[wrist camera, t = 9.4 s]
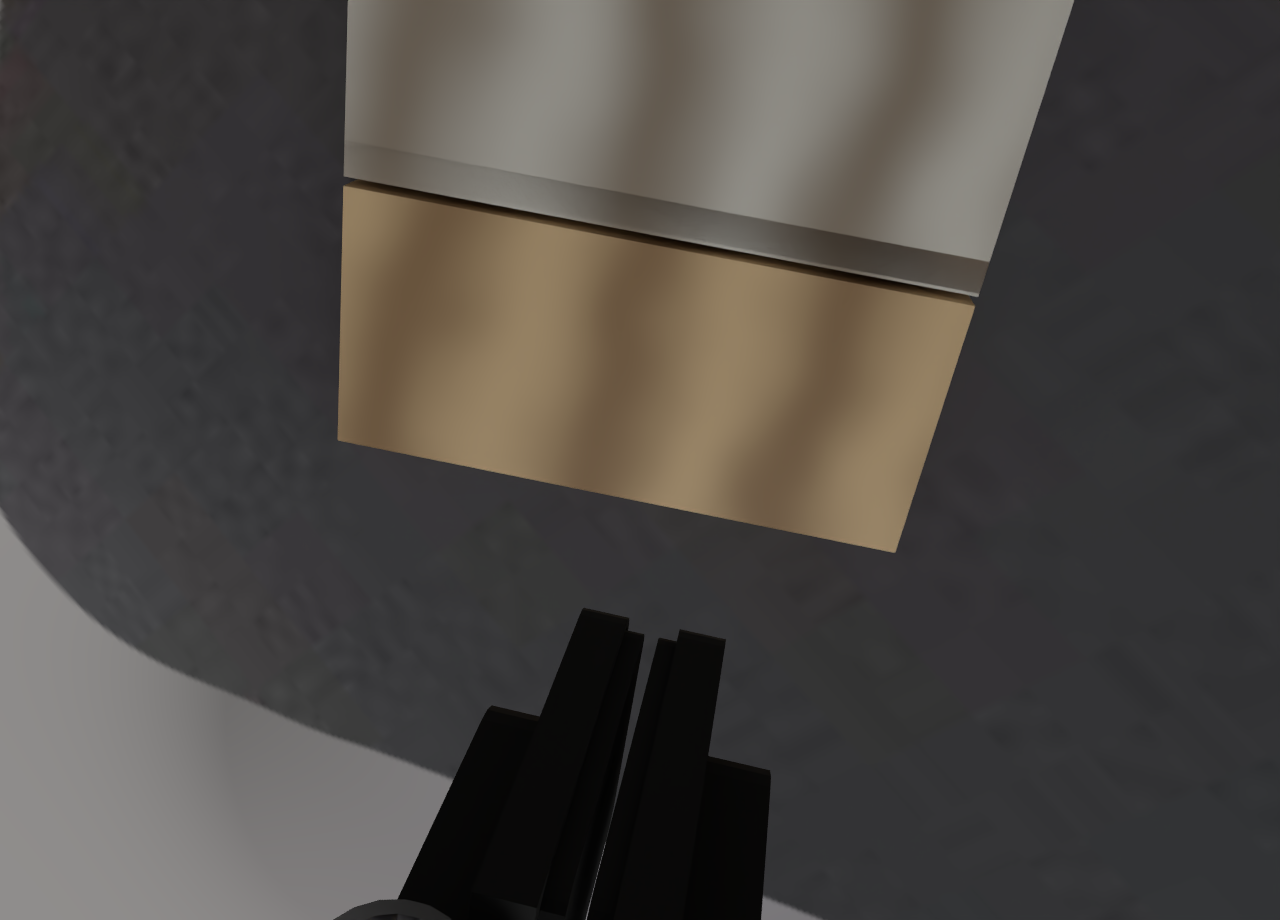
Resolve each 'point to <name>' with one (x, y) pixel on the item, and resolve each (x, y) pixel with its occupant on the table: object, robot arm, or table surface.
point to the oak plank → (640, 364)
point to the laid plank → (716, 119)
